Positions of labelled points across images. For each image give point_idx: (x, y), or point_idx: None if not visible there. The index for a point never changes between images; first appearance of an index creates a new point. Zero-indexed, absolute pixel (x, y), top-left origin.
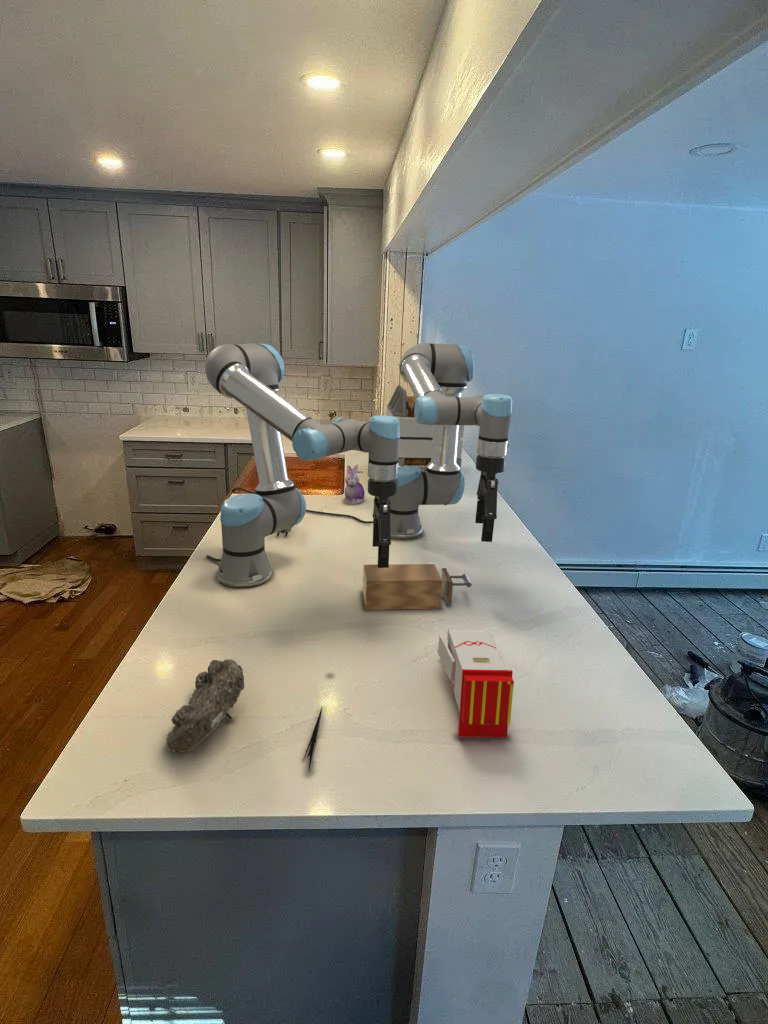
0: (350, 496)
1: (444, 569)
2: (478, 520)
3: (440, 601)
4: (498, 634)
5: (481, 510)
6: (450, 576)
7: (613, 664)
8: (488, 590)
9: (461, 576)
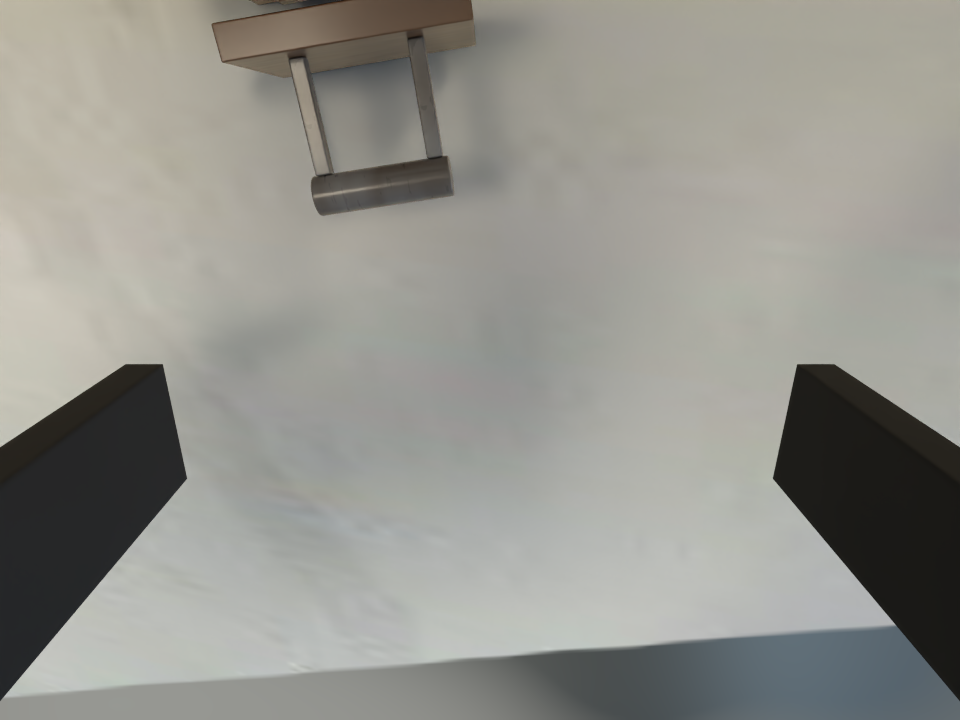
0: None
1: (442, 1)
2: (812, 416)
3: (282, 3)
4: (86, 307)
5: (912, 541)
6: (412, 63)
7: None
8: (525, 320)
9: (426, 152)
